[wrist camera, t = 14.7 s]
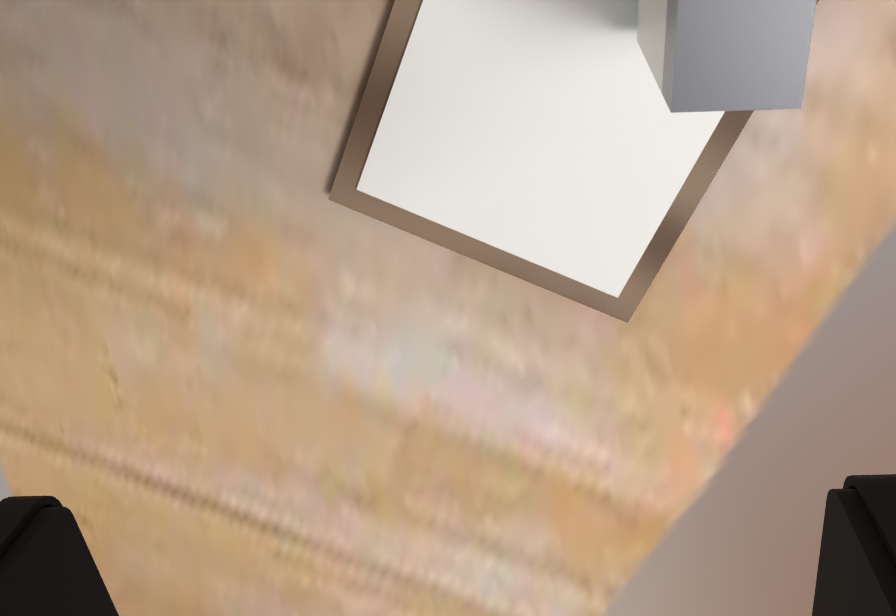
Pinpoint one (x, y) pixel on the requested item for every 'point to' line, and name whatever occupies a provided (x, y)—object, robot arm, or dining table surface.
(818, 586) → the robot arm
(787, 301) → the dining table surface
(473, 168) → the paper
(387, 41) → the board
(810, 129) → the dining table surface
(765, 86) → the grey square bar
